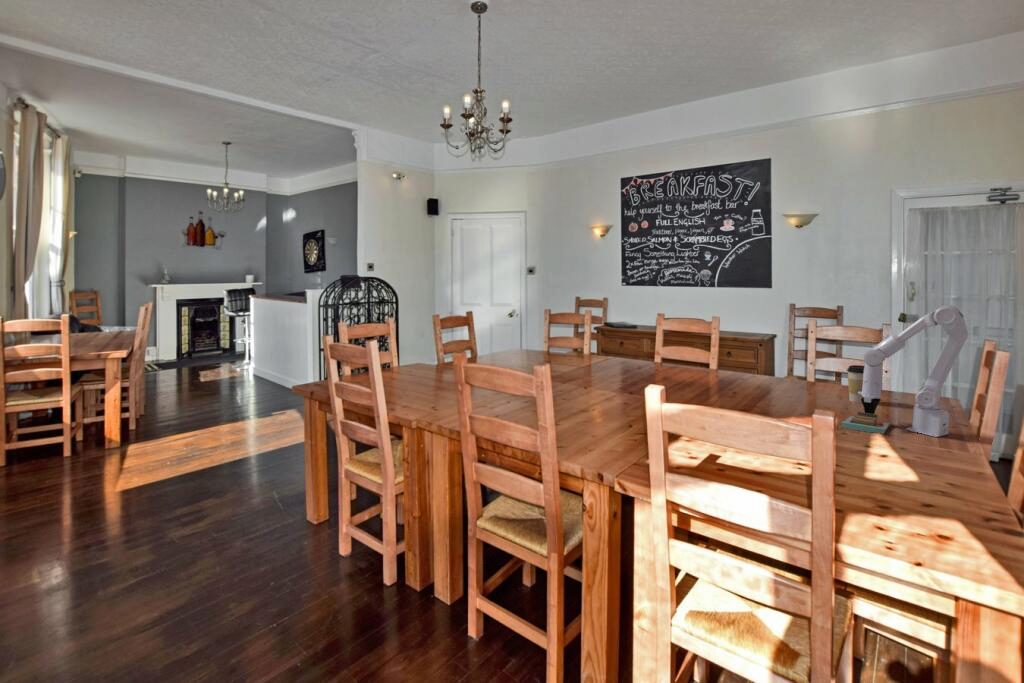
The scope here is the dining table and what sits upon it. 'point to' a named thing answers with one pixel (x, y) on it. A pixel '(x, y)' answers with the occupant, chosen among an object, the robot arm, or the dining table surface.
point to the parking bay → (864, 426)
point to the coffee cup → (855, 382)
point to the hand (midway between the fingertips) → (869, 417)
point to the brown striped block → (866, 419)
